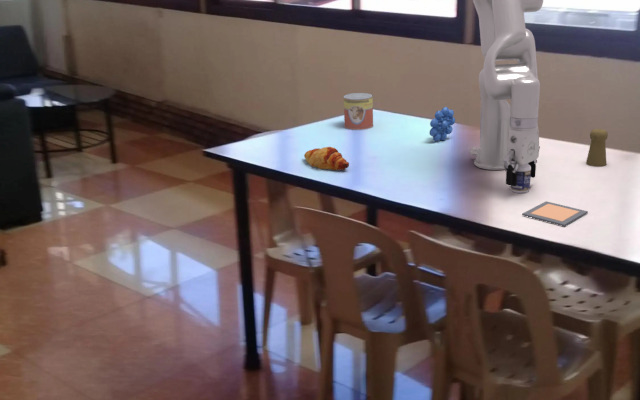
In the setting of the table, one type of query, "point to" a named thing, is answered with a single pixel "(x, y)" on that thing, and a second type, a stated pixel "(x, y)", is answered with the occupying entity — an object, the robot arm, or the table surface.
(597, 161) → the cork
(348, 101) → the canned food
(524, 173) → the pill bottle
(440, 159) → the table surface
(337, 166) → the croissant
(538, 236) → the table surface
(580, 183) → the table surface
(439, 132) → the grapes
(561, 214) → the coaster
